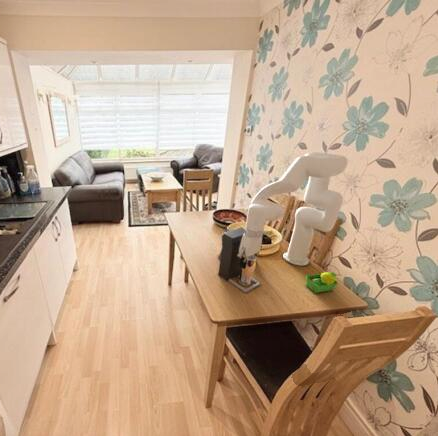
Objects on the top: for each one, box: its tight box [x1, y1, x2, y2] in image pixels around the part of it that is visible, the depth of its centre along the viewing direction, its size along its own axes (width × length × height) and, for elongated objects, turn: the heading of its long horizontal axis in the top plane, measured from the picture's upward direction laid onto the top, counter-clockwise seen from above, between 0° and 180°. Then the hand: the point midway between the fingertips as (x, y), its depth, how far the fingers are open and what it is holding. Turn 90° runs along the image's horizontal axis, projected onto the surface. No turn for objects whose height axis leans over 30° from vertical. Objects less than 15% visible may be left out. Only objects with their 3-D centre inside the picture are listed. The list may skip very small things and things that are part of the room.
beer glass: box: [237, 253, 258, 287], centre depth 115 cm, size 7×7×15 cm
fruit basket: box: [305, 271, 339, 294], centre depth 111 cm, size 11×9×11 cm
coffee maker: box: [217, 227, 261, 293], centre depth 115 cm, size 12×17×24 cm
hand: (247, 264), depth 113 cm, fingers closed on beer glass, 7 cm apart
